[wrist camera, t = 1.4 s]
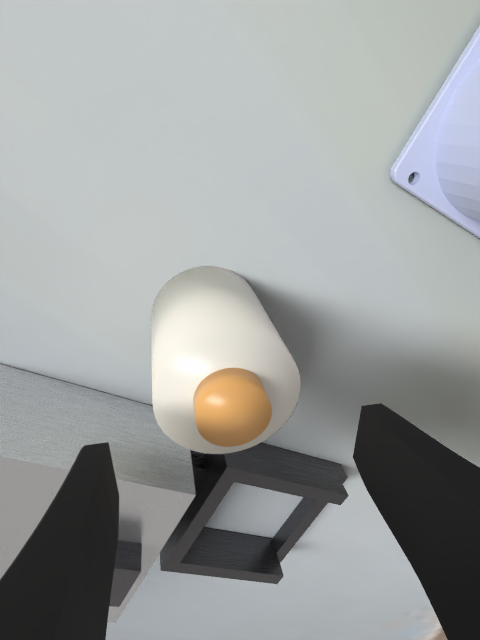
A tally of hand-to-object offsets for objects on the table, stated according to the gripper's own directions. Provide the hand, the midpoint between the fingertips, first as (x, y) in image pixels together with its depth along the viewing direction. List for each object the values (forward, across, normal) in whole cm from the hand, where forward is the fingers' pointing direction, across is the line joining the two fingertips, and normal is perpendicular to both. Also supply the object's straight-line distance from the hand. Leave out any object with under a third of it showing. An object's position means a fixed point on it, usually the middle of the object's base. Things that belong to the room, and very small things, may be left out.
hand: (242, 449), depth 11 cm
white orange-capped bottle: (+8, 0, 0) cm, 8 cm away
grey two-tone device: (+8, +4, +9) cm, 13 cm away
